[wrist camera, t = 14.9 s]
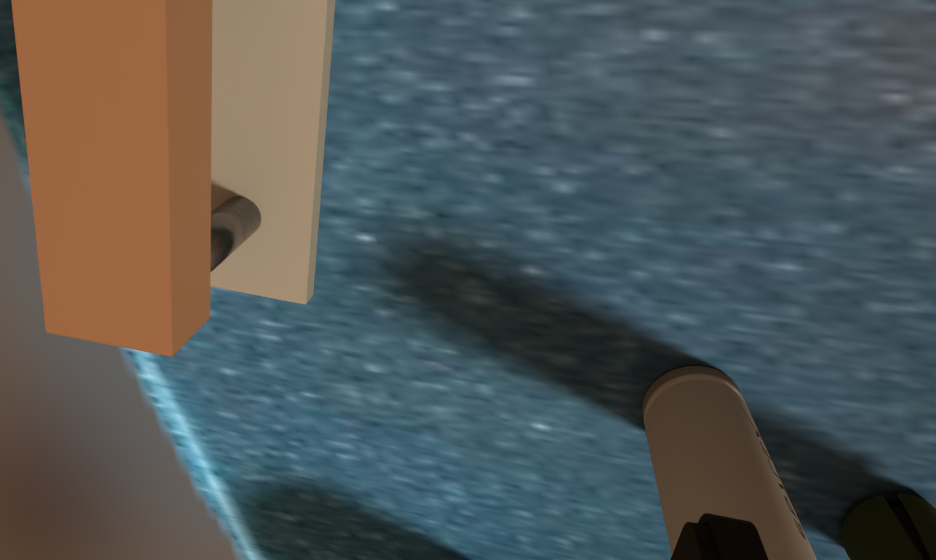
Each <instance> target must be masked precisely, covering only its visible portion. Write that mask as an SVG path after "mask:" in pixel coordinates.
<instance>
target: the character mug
mask: <svg viewBox="0 0 936 560" xmlns="http://www.w3.org/2000/svg"><path fill="white" fill-rule="evenodd" d="M898 496H899V498H900V499H901V501H902V503H903V505H904V507H905V508H898V507H895V508H892V509H891V508H890V506H889V505H888V503H887V502H886V500H885V498H884V497H883V495H881V496H875V497H873V498H871V499H869V500H867V501H865V502H863V503H861V504H859V505H857V506H856V507H855V508H854V509H853V511H852V512H851V513H850V514H849V515H848V516H847V517H846V518H845V519H844V523H843V530H842V537H841V540H842V542H843V545H844V548H845V550H846V553H847V555H848V556H849V558H850V559H851V560H936V508H934V507H933V506H932V505H931V504H929V503H928V502H927V501H926V500H924V499H923V498H921V497H917V496H913V495H909V494H905V493H899V494H898Z"/></svg>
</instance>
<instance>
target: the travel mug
mask: <svg viewBox="0 0 936 560" xmlns="http://www.w3.org/2000/svg"><path fill="white" fill-rule="evenodd" d="M642 417H643V421H644V426H645V429H646V435H647V440H648V445H649V449H650V454H651V459H652V464H653V468H654V473H655V478H656V482H657V487H658V492H659V496H660V501H661V506H662V511H663V515H664V520H665V525H666V529H667V534H668V539H669V543H670V548H671V553H672V554H673V552H674V549H675V547H676V544H677V541H678V539H679V536H680V533H681V531H682V529H683V527H684V525H685V524H686V523H687V522H693V523H698V521H699V519H700V517H701V516H702V515H703V514H705V513H709V514H715V515H720V516H725V517H730V518H735V519H740V520H745V521H750V522H752V523H753V524H754V525H755V527H756V529H757V530H758V533H759V535H760V538H761V541H762V543H763V546H764V549H765V551H766V554H767V557H768V559H769V560H817V559H816V557H815V555H814V552H813V550H812V548H811V546H810V544H809V541H808V539H807V537H806V535H805V533H804V530H803V528H802V526H801V524H800V522H799V519H798V517H797V515H796V513H795V511H794V508H793V506H792V504H791V502H790V500H789V497H788V495H787V493H786V491H785V489H784V486H783V484H782V482H781V480H780V478H779V475H778V473H777V471H776V469H775V467H774V464H773V462H772V460H771V458H770V456H769V453H768V451H767V449H766V447H765V445H764V442H763V440H762V438H761V436H760V434H759V431H758V429H757V427H756V425H755V423H754V420H753V418H752V416H751V414H750V412H749V409H748V407H747V405H746V403H745V401H744V398H743V396H742V394H741V392H740V390H739V388H738V386H737V385H736V384H735V382H734V381H733V380H732V379H731V378H730V377H728V376H727V375H725V374H724V373H722V372H720V371H718V370H716V369H712V368H709V367H703V366H687V367H682V368H678V369H674V370H672V371H670V372H667V373H666V374H664V375H663V376H661V377H659V378H658V379H657V380H656V381H655V382H654V383H653V384H652V385H651V386H650V388H649V389H648V390H647V392H646V394H645V397H644V399H643V404H642Z"/></svg>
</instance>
